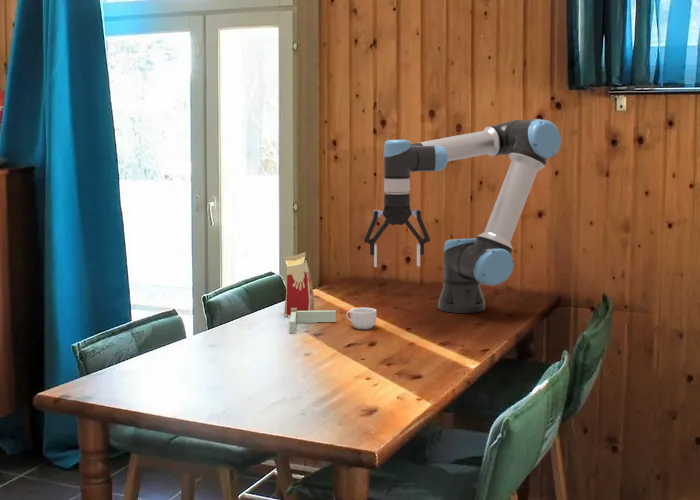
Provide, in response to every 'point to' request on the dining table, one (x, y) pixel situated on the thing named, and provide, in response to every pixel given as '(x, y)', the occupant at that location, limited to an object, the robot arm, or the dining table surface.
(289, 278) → the milk carton
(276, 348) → the dining table surface
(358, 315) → the teacup
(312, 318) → the corner fence
